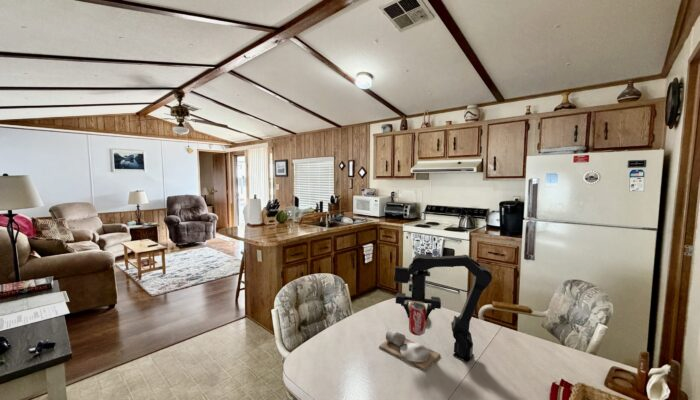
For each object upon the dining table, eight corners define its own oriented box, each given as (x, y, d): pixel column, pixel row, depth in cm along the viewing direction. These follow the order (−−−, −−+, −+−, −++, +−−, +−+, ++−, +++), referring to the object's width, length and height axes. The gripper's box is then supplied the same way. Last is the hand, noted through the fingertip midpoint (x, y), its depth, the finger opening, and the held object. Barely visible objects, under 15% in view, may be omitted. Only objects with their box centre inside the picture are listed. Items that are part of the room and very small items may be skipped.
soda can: (428, 334, 127) (429, 307, 126) (415, 338, 124) (416, 311, 123) (418, 326, 134) (419, 301, 132) (405, 330, 130) (406, 304, 129)
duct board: (440, 356, 124) (440, 342, 123) (425, 371, 114) (425, 356, 113) (395, 335, 138) (396, 323, 138) (379, 347, 129) (379, 334, 128)
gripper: (440, 280, 132) (439, 313, 134) (398, 275, 137) (397, 308, 138) (441, 289, 121) (440, 326, 123) (395, 284, 126) (395, 319, 128)
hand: (417, 319), depth 128 cm, fingers closed on soda can, 7 cm apart
